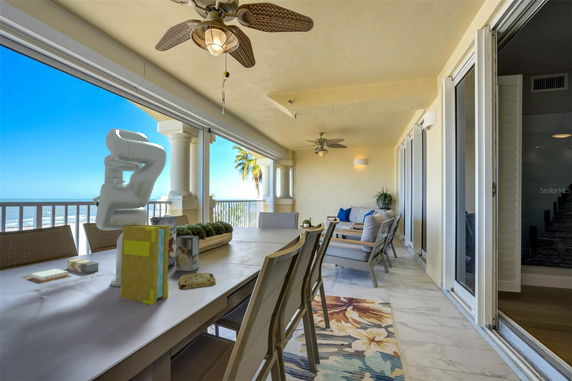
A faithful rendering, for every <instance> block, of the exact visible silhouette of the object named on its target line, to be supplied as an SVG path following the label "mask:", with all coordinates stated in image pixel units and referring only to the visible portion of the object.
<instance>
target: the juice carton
mask: <svg viewBox="0 0 572 381" xmlns="http://www.w3.org/2000/svg"><path fill="white" fill-rule="evenodd" d="M177 218H178V217H177V216H174V215H172V214H170V213H164V216H152V217H151V225H159V226H161V225H163V226H170V239H169V248H168V268H169V267H172V266H176V242H177Z"/></svg>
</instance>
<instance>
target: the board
mask: <svg viewBox="0 0 572 381" xmlns="http://www.w3.org/2000/svg"><path fill="white" fill-rule="evenodd" d="M71 277H73V275H71V274H68V276H67V277H62V278H58V279H54V280H49V281H45V282H40V281H37V280H34V279H31V274H30V275H24V276H21V278H22V279H25V280H29V281H32V282H33V283H34V282H35V283H38V284H45V283H51V282H54V281H58V280H62V279H67V278H71Z"/></svg>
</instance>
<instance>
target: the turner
mask: <svg viewBox="0 0 572 381" xmlns="http://www.w3.org/2000/svg"><path fill="white" fill-rule="evenodd" d="M66 269H67V270H71V271H73V272H74V271H75V272H78V273H82V274H86V275H89V274H94V273H99V262H96V261H91V260H88V259H83V258H82V259H81V258H73V259H68V260H67V261H66Z"/></svg>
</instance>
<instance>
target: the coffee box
mask: <svg viewBox="0 0 572 381" xmlns="http://www.w3.org/2000/svg"><path fill="white" fill-rule="evenodd" d="M199 262H200V236H199V235H181V236H176V254H175V270H176V271H187V272H188V271H189V272H193V271H195V270H197V269H199V268H200V264H199Z"/></svg>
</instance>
